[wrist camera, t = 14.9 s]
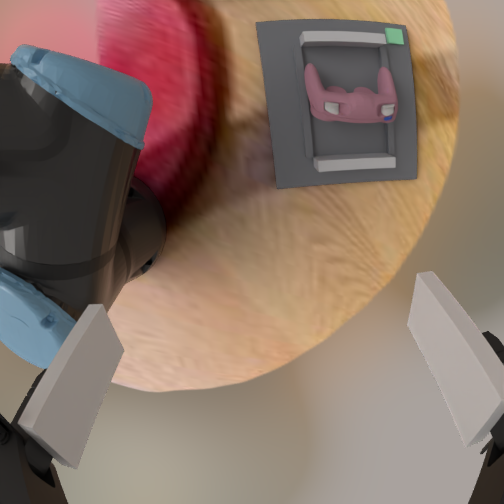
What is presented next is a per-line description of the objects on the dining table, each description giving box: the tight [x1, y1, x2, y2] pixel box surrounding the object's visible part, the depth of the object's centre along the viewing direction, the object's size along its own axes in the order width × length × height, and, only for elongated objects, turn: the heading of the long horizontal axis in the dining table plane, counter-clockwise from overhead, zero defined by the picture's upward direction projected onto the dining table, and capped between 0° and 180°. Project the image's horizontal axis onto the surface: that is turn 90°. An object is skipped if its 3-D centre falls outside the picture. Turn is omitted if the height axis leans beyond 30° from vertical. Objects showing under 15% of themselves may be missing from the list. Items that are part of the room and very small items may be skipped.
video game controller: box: [304, 63, 398, 123], centre depth 27 cm, size 10×5×7 cm
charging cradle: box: [256, 19, 417, 189], centre depth 30 cm, size 18×20×4 cm
